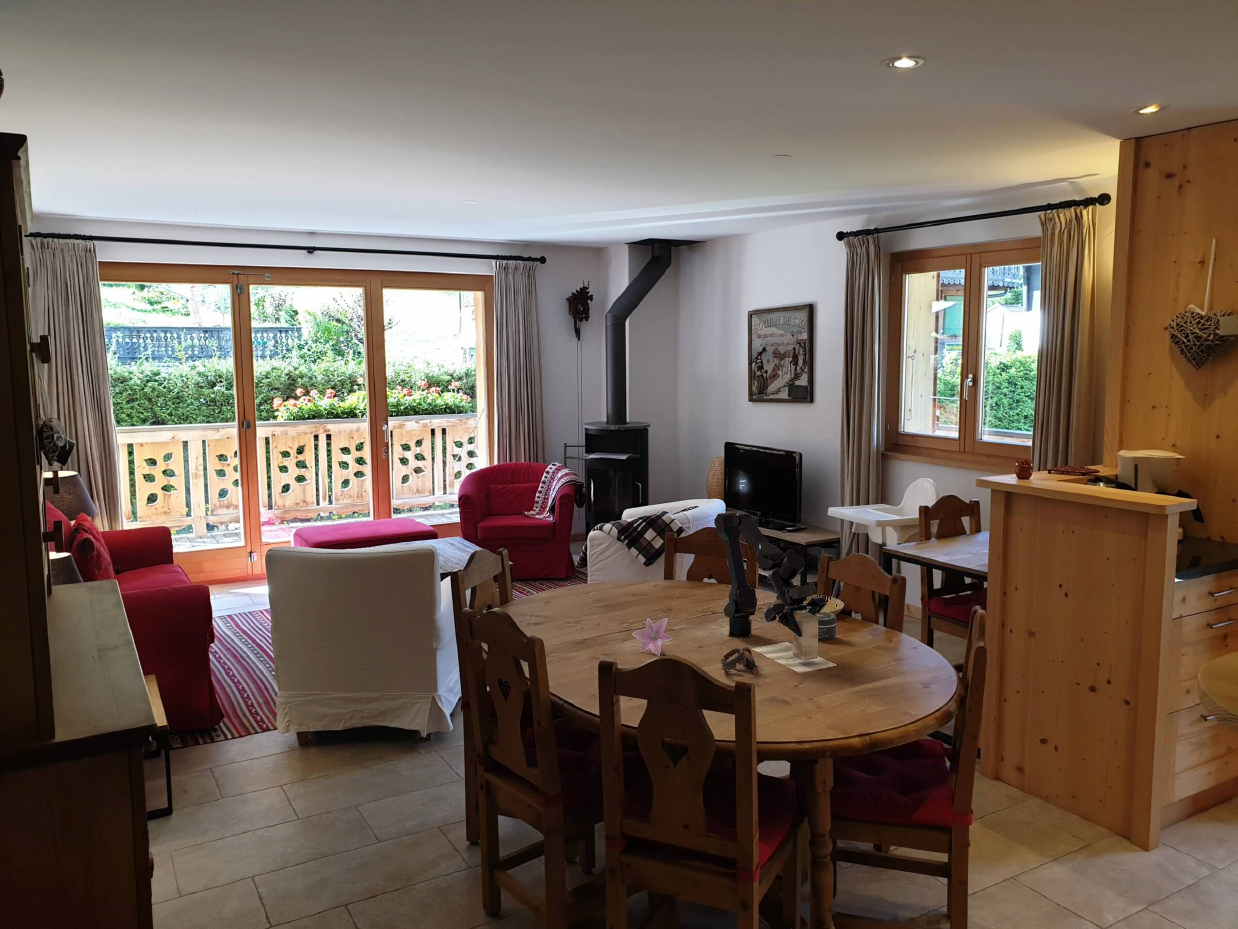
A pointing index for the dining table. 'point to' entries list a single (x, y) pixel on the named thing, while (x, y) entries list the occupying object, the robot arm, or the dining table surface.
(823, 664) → the birch board
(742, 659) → the brown looped strap
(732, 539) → the robot arm
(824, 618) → the jar
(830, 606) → the plant saucer
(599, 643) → the dining table surface
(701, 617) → the dining table surface
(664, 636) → the lily
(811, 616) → the beige tall block
